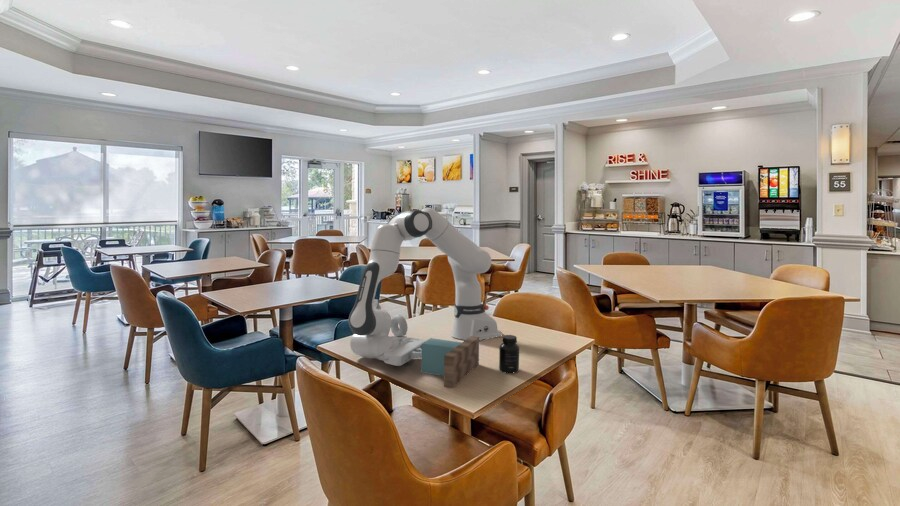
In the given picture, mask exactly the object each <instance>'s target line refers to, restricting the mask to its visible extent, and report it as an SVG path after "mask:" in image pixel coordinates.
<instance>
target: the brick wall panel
mask: <svg viewBox="0 0 900 506" xmlns="http://www.w3.org/2000/svg"><path fill="white" fill-rule="evenodd" d="M461 342H462V341H461ZM479 359H480V341H479V337H475V336H471V337H469V338H468V339H466V340H463V342H462V343H461V344H460V345H458V346H457V347H455V348H454V349H453V350H451V351H450V352H449V353H447V354H446V355H444V376H443V387H446V388H450V389H454V388H455V387H456V386H457V385H458V384H459V383H460V382H461V381H462V380H463V379H465V377H466V376H468V375H469V374H470V373H471V372H472V371H473V370H475V368H476V367H477V366H478V365H479V363H480V362H479V361H480V360H479ZM468 373H469V374H468ZM467 374H468V375H467Z"/></svg>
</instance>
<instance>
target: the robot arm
mask: <svg viewBox="0 0 900 506" xmlns="http://www.w3.org/2000/svg"><path fill="white" fill-rule="evenodd" d="M446 218H447V217H444V216H443V215H442V214H441V213H439V212H438V211H437V210H435V209H434V208H432V207H425V208H423V209H412V210H407V211H404V212H401V213H399V214H397V215H394V216H392V217H391V218H389V220H388V221H387V223H384V224H380V225H379V226H377V227H376V230H375V232H374V235H373V239H372V241H371V246H370V253H369V259H368V262H367V264H366V265H365V267H364V269H363V271H362V274H361V279H360V283H359V286H358V290H357V295H356V298H355V302H354V305H353V307H352V309H351V311H350V313H349V314H348V315H349V316H348V321H347V322H348V326H349V328H350V331H351V332H352V335H351V338H350V341H349V342H350V343H349V345H350V349H351V351H352V353H353V354H355V355H356V356H359V357H362V358H366V359H371V360H373V359H375V360H379V361H382V362H384V363H385V364H388V365H390V366H391V365H392V366H394V367H395V366H396V367H401V366H403V365H405V364H406V363H407V362H409V361H411V360H413V359H422V343H423V342H425V341H426V340H424V339H422V338H421V339H420V338H417V337H416V338H415V337H410V336H409V337H407V334H406V335H400V336H395V335H394V336H393V335H391V336H389V334H390V330H391V319H392V317H391V315H390V313H388V311H386V310H384V309H381V310H380V309H374V308H373V302H374V299H375V297H376V294H377V290H378V289H377V288H378V286H379V283H380V282H381V281H382V280H383V279H385V278H387V277H389V276H391V275H393V274H394V273H395V272H396V271H397V270H398V267H399V262H400V257H401V254H400V253H401V246H402V243H403V242H404V241H411V240H414V239H417V238H421V237H423V236H425V237H426V238H427V239H428V240H429V241H430V242H431V243H432V244H433V245H434V246H435V247H436V248H438V249H439V251H441V253H443V254H445V255H446V256H447V262H448V263H449V265H450V267H451V271H452V275H453V279H454V285H455V286H454V287H455V299H454V301H455V302H454V306H453V314H454V315H453V317H454V321H453V325H452V330H451V337H453V338H455V339H457V340H458V339H459V340H463V341H465V340H466V339H468V338H469V337H471V336H475V337H479V340H480V341H483V340H482V339H486V340H488V339H487V338H491V339H493V338H492V337H496V336H501V335H503V331H501V330H499V329H498V328H499V327H498V324H497V321H496V320H495V318H493V317H492V316H490V315H489V314H488V313H486V311H488V310H489V309H490V306H489V305H487V304H483V303H482V286H481V283H480V282H479V279H478V276H477V275H480V274H485V273H487V272H488V271H489V270H490V268H491V266H492V257H491V255H490V253H489V252H487V251H486V250H485V249H483V248H481V247H480V246H478V245H477V244H476V243H475V242H473V240H471V239H469V238H468V237H466V236H465V235H464V234H462V233H461V232H460V231H459V229H457V228H456V226H454V225H453V224H452V223H451V222H450V221H449V220H448V219H446ZM503 336H504V335H503Z"/></svg>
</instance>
